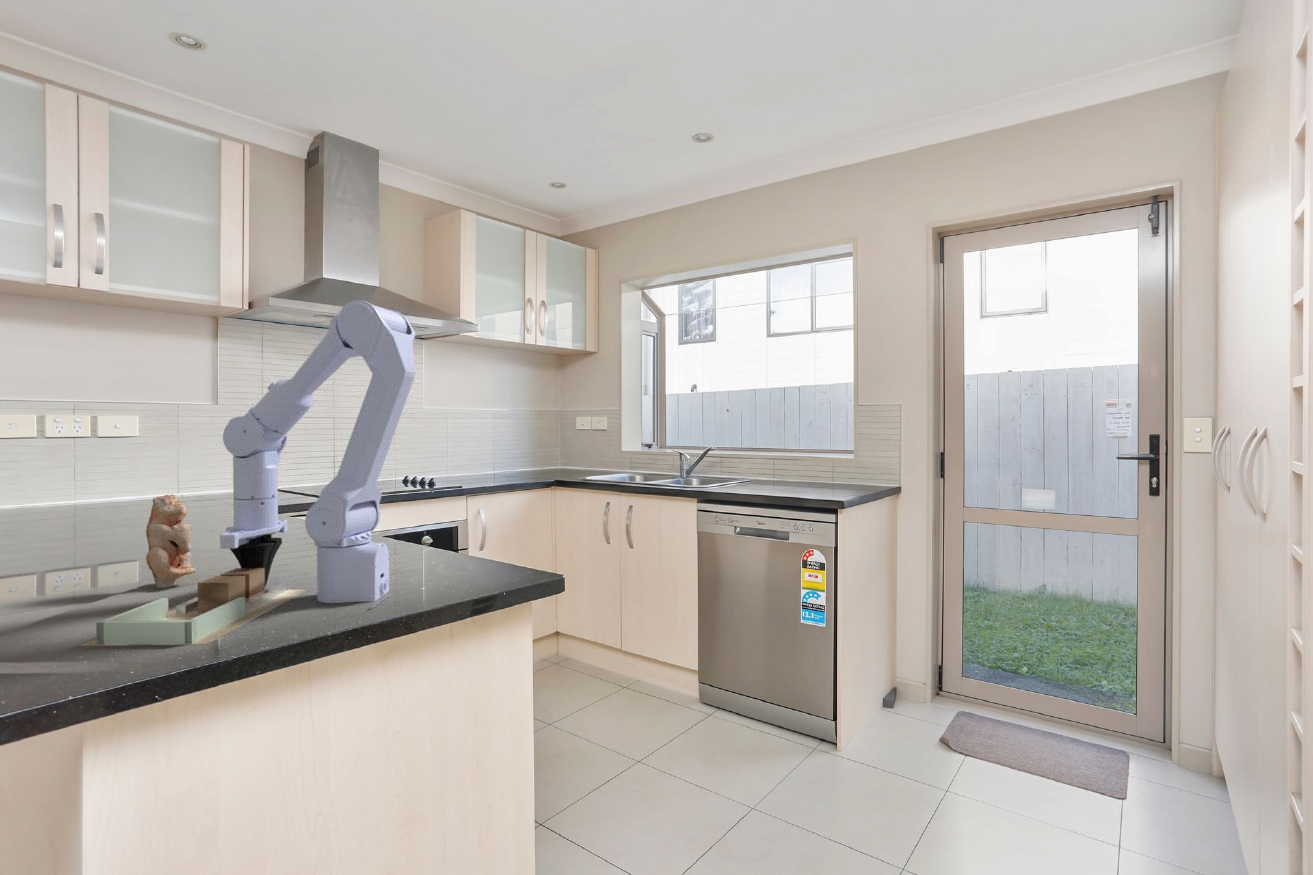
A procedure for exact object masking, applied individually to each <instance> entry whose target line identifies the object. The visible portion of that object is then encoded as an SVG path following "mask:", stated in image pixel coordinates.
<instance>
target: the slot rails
mask: <svg viewBox="0 0 1313 875" xmlns="http://www.w3.org/2000/svg"><path fill="white" fill-rule="evenodd" d="M289 590H291V581H281V582H279V583H277V584H275V585H272V586H270V587H268V588H265V590H264V591H262V592H259V593H257V594H255V595H253V596H251V597H249V598H246V599H245V612H246V611H248V610H250V609H252V608H254V607H256V606H258V605H260V604H262V603H264V602H266V601H268V600H270V599H272V598H274V597H277V596H279V595H281V594H283V593H285V592H287V591H289ZM175 606H176V615H186V614H188V613H190V612H193V611H195V610H197V609H198V596H196V597H193V598H192V599H189V600H187V601H184V602H182V603H179V604H176V605H175Z"/></svg>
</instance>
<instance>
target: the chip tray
mask: <svg viewBox="0 0 1313 875" xmlns="http://www.w3.org/2000/svg"><path fill="white" fill-rule="evenodd" d="M168 609H169V598H168V597H161V598H159V599H157V600H153V601H152V602H148V603H145V604H143V605H140V606H138V607H135V608H131V609H130V610H127V611H124V612H121V613H119V614H117V615H114V616H112V617H108V618H107V619H103V620H101V621H98V622H96V624H95V625H96V626H95V628H96V639H97V645H109V644H192V643H194V642H196V641H198V640H200V639H202V638H204V637H206V636H208V635H210V634H212V633H214V632H216V631H217V630H219V629H221V628H223V627H225V626H227V625H229V624H231V623H233V622H235V621H237V620H239V619H241V618H243V617H245V597H243V598H237V599H235V600H232V601H230V602H228V603H226V604H224V605H221V606H219V607H217V608H215V609H213V610H210V611H208V612H206V613H204V614H201V615H199V616H197V617H195V618H193V619H190V620H163V619H165V618H167V617H168ZM109 646H110V645H109Z"/></svg>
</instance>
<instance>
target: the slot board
mask: <svg viewBox="0 0 1313 875" xmlns="http://www.w3.org/2000/svg"><path fill="white" fill-rule="evenodd" d="M308 591H309V589H290V590H289V591H287V592H285V593H283V594H281V595H279V596H277V597H274V598H272V599H270V600H268V601H266V602H264V603H262V604H260V605H258V606H256V607H254V608H252V609H250V610H248V611H246V612H245V617H243V618H241V619H239V620H237V621H235V622H233V623H231V624H229V625H227V626H225V627H223V628H221V629H219V630H217V631H216V632H214V633H212V634H210V635H208V636H206V637H204V638H202V639H200V640H198V641H196V642H194V643H192V644H109V645H97V638H95V639H92V640H89V641H86V642H85V643H83V644H80V645H79V646H80V647H82V646H83V647H87V646H89V647H91V646H94V647H95V646H97V647H98V646H99V647H100V646H102V647H103V646H104V647H105V646H166V645H167V646H175V645H177V646H178V645H179V646H180V645H182V646H183V645H184V646H185V645H186V646H187V645H191V646H192V645H209V644H210V643H212V642H213V641H215V640H217V639H219V638H221V637H222V636H225V635H226V634H229V633H231V632H232V631H234V630H236V629H238V628H240V627H241V626H243V625H245V624H247V623H250V622H252V621H253V620H254V619H257V618H259V617H260V616H262V615H264V614H267V613H269V612H270V611H272V610H274V609H275V608H277V607H279V606H281V605H283V604H285V603H287V602H289V601H290V600H293V599H295V598H297V597H298V596H300V595H302V594H304V593H305V592H306V593H307V592H308ZM176 606H177V605H175V606H173V607H170V608H168V617H167V618H165V619H163V620H190V619H193V618H195V617H197V616H199V615H201V614H204V613H206V612H198V609H197V610H195V611H193V612H190V613H188V614H186V615H176Z"/></svg>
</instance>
